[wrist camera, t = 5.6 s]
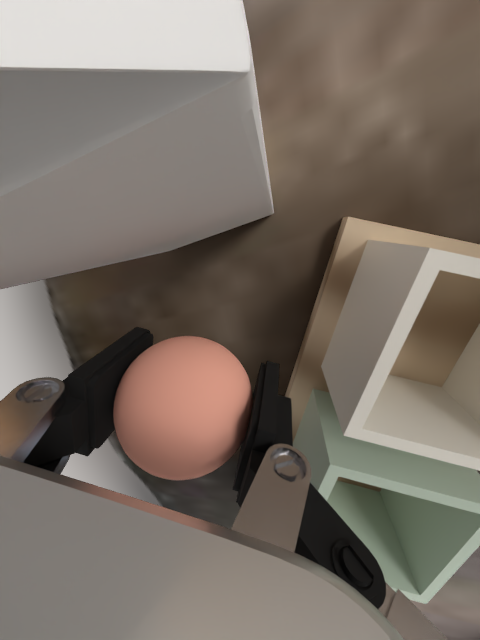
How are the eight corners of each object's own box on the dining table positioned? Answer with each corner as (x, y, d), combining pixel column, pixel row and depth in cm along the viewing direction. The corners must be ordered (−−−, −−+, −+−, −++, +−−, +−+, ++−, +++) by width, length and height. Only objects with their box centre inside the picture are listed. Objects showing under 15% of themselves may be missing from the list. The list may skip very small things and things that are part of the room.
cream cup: (368, 239, 14) (429, 248, 8) (522, 272, 13) (697, 305, 8) (321, 366, 17) (343, 435, 11) (446, 397, 16) (534, 484, 11)
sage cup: (312, 388, 18) (330, 464, 12) (433, 418, 17) (510, 511, 11) (282, 471, 20) (284, 563, 15) (384, 499, 20) (426, 604, 14)
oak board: (343, 217, 15) (348, 216, 14) (538, 258, 14) (561, 261, 13) (263, 462, 22) (262, 474, 21) (391, 496, 21) (397, 511, 20)
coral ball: (159, 305, 11) (71, 364, 7) (270, 333, 11) (260, 416, 6) (152, 395, 13) (80, 489, 8) (246, 421, 13) (224, 535, 8)
